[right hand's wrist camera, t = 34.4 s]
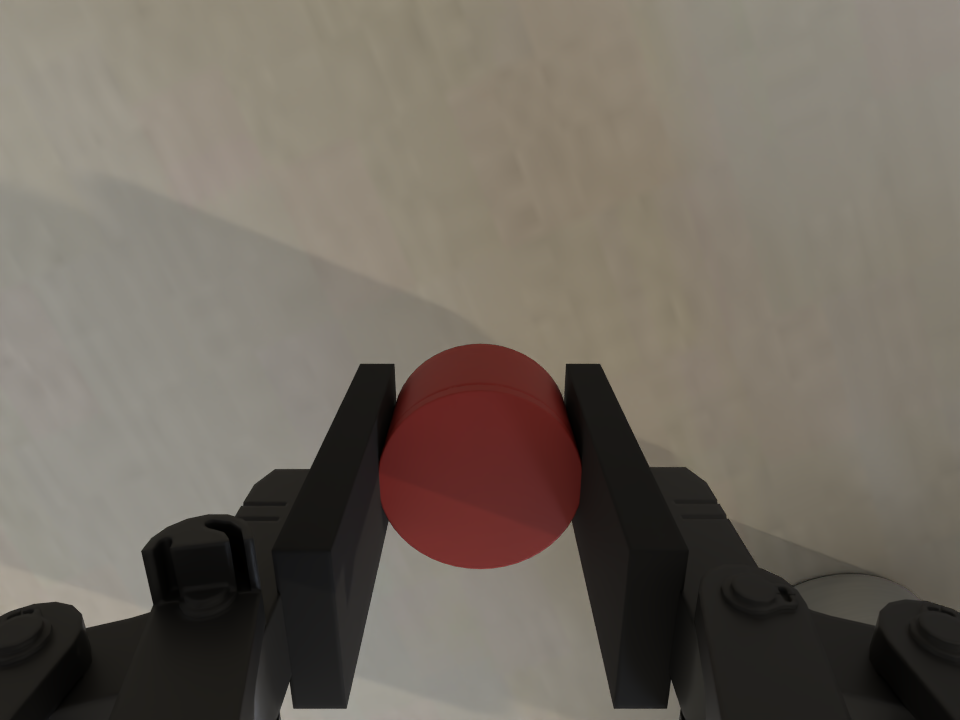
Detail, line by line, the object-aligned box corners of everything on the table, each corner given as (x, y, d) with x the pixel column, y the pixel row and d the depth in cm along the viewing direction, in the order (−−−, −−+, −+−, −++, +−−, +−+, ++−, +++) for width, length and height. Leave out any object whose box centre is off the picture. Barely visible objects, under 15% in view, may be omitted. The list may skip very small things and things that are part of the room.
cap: (544, 322, 14) (558, 366, 11) (582, 476, 15) (601, 545, 13) (371, 367, 14) (347, 419, 12) (422, 513, 15) (412, 587, 13)
